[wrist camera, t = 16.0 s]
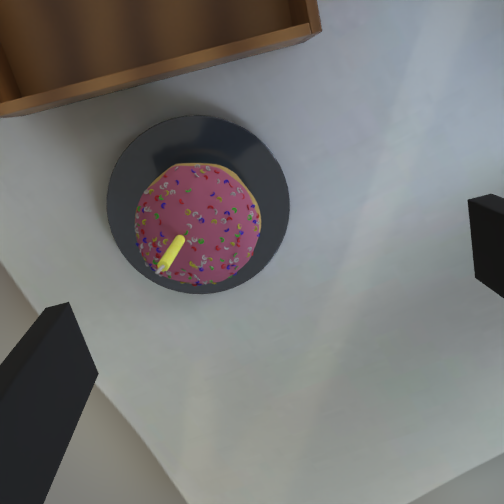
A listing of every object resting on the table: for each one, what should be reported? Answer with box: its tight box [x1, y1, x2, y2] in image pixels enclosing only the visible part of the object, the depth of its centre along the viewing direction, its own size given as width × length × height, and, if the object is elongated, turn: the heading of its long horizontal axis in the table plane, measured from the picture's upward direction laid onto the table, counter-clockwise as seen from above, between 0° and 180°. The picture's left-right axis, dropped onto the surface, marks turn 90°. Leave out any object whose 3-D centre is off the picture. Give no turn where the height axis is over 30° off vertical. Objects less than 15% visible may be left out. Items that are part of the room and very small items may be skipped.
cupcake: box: [134, 163, 261, 286], centre depth 31 cm, size 9×8×12 cm
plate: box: [107, 115, 290, 294], centre depth 37 cm, size 14×14×1 cm
